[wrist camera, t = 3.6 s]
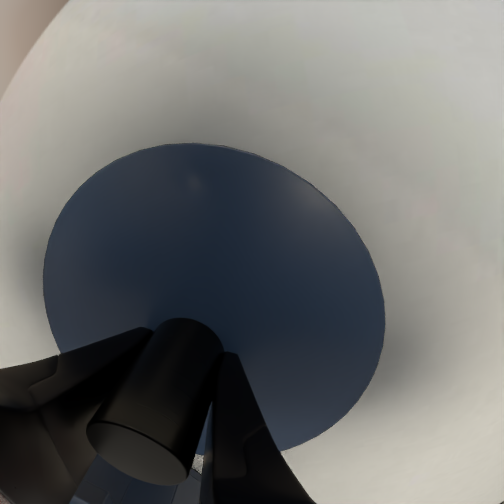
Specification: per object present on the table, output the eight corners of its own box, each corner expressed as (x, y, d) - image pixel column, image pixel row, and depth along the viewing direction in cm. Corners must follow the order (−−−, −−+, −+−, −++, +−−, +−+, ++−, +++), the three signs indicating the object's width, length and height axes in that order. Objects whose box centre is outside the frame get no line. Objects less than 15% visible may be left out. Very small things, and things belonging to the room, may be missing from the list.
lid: (74, 389, 12) (18, 458, 7) (68, 130, 8) (-58, 125, 3) (308, 457, 12) (310, 553, 6) (424, 202, 8) (556, 247, 3)
